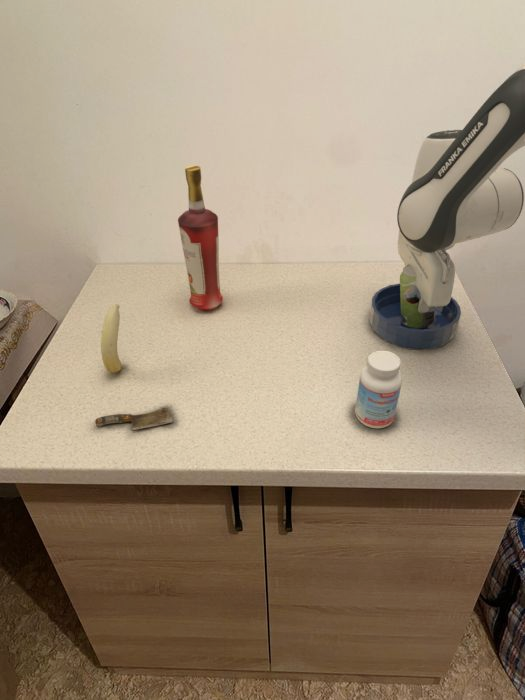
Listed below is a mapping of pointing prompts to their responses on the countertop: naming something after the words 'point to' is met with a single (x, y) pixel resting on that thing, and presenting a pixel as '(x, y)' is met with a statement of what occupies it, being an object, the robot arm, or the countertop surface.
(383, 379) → the pill bottle
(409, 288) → the beverage can
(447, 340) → the bowl
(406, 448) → the countertop surface
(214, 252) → the liquor
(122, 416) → the meat cleaver
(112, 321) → the fruit
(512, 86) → the robot arm
